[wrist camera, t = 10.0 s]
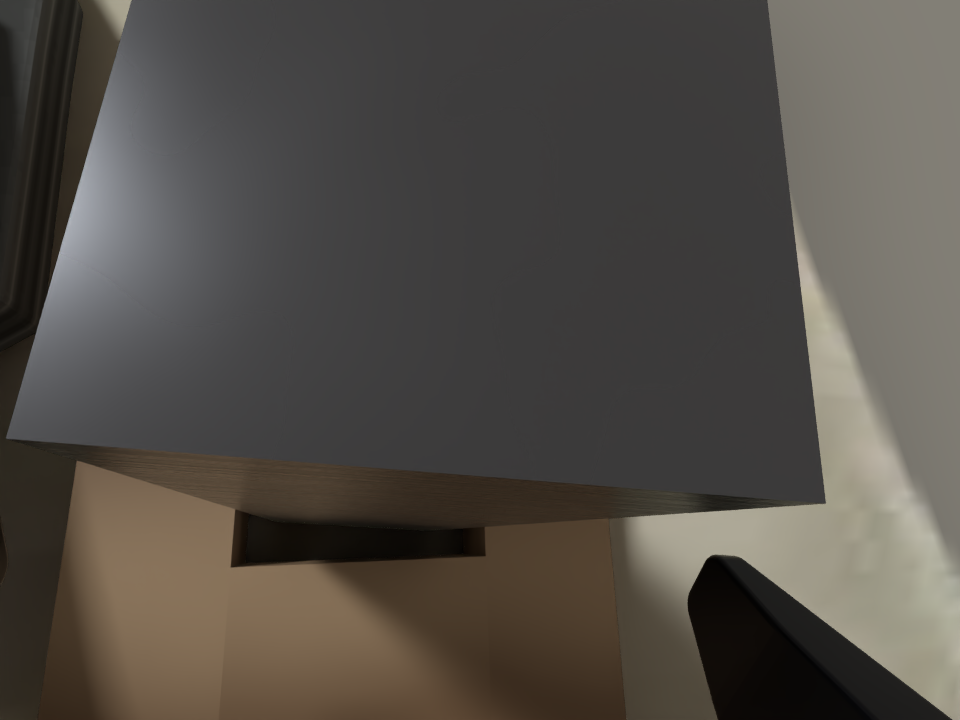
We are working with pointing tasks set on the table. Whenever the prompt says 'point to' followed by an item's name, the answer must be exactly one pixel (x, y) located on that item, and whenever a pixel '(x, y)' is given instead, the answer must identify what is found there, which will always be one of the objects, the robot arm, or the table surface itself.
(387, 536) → the table surface
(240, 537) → the post foot
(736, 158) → the dark grey square post
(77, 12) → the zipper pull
